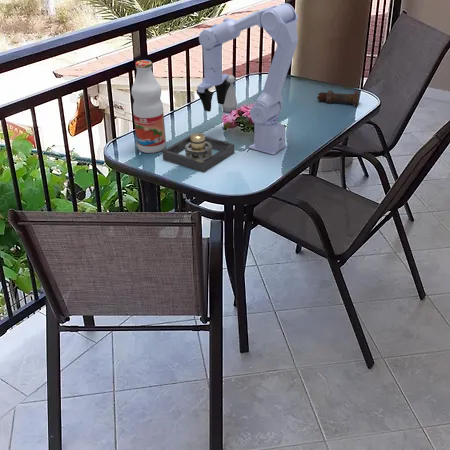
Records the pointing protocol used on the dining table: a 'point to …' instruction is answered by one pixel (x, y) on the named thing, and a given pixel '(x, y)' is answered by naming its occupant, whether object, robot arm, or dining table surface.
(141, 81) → the fruit juice
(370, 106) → the dining table surface
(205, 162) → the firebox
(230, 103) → the salt shaker
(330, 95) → the bolt
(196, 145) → the beige cylinder
